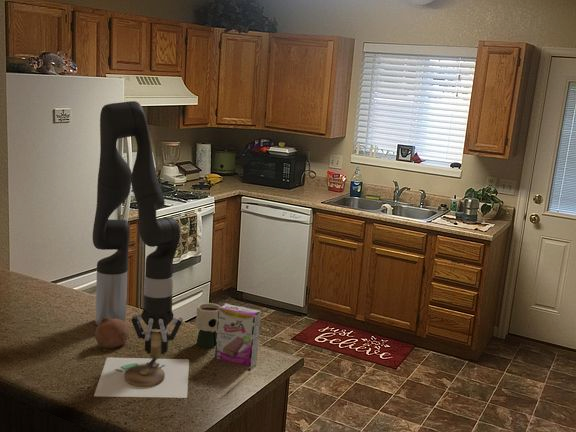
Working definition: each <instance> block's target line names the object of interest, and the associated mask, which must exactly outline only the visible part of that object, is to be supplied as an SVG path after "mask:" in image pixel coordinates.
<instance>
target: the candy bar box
mask: <svg viewBox="0 0 576 432" xmlns="http://www.w3.org/2000/svg"><path fill="white" fill-rule="evenodd" d="M220 306H221V307H219V308H218V322H217V330H216V332H217V336H216V346H215V353H214V358H215V359H217V360H221V361H225V362H230V363H234V364H239V365H243V366H248V368H247V371H252V370H253V368H254V367H256V365H257V363H258V362H257V361H258V352H259V351H258V350H259V339H260V328H261V327H260V326H261V315H262V311H261V310H258V309H255V308H254V309H253V308H249V307H245V306H244V307H243V306H241V305H235V304H232V303H224V304H222V305H220Z"/></svg>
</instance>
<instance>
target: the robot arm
mask: <svg viewBox="0 0 576 432" xmlns="http://www.w3.org/2000/svg"><path fill="white" fill-rule="evenodd" d="M149 131H150V130H149V126H148V121H147V116H146V113H145V110H144V109H143V106H142V105H141V103H140V102H138V101H135V100H134V101H131V100H130V101H123V102H114V103H113V102H112V103H107V104H104V105H103V106H102V108H101V110H100V116H99V135H100V137H99V139H100V143H99V144H100V151H99V152H100V153H99V164H98V165H99V167H98V174H97V175H98V176H97V187H96V189H97V192H96V209H95V215H94V221H93V226H92V227H93V229H92V243H93V246H94V248H95V249H97V250H103V251H104V250H105V251H106V250H107V251H108V250H111V251H113V250H116V251H115V252H114V253H113V254H111V255H109V256H107V257H103V258H101V259H100V260H98V261H97V264H96V286H95V287H96V288H95V289H96V290H95V317H94V318H95V321H94V323H95V325H96V326H98V325H99V324H100V323H101V322H102V320H103V318H111V319H121V320H123V321H124V322H125V323H126V321H127V320H126V319H127V318H126V317H127V299H128V298H127V296H128V295H127V292H128V267H129V248H130V236H131V227H130V223H129V221H128V220H126V219H109V218H110V217H111V215H112V214H113V212H115V211H116V210H117V209H118V208H119V207H120V206H121V205H122V204H123V203H124V202H125V201H126V200H127V199H128V197H129V195H130V193H131V188H132V191H133V196H134V198H135V201H136V204H137V211H138V212H137V215H138V233H139V236H140V237H139V238H140V240H141V241H142V242H143V244H145V245H146V246H147V247H149V248H150V247H151V248H152V247H153V248H154V247H156V249H155V250H154V251H153V252H151V253H148V255H147V256H146V258H145V271H144V272H145V273H144V282H143V305H142V307H143V309H142V312H141V313H140V314H138V315H137V314H135V315H133V316H132V318H131V323H132V325H133V328H134V331H135V333H136V335H137V338H138V339H143V340H144V351H145V352H146V354H147V355H150V345H151V331H153V330H160V331H161V334H162V339H163V341H162V356H163V355H164V356H165V355H166V353H167V352H168V350H169V341H173V340H174V339H175V338H176V335H177V333H178V331H179V329H180V327H181V325H182V323H183V321H184V319H183V318H182V317H177V316H174V313H173V295H174V294H173V292H174V291H173V290H174V281H173V267H174V266H173V265H174V264H173V263H174V258H175V256H176V253H177V249H178V245H179V243H180V238H181V228H180V224H179V223H178V221H177V220H176V219H175V218H173V217H170V216H166V217H157V211H158V210H160V209H162V208H163V207H164V206H165V204H166V203H165V202H166V201H165V198H164V197H165V196H164V194H163V190H162V187H161V184H160V181H159V179H158V175H157V171H156V168H155V167H156V166H155V162H154V161H155V160H154V155H153V149H152V148H153V147H152V142H151V137H150V132H149ZM130 137H134V138H135V142H136V157H135V160H134V164H133V168H132V170H131V168H130V166H129V164H128V163H127V161H126V160H125V159H124V157H123V156H122V154H120V152H119V151H118V149H117V142H118V140H119V139H123V138H130ZM142 320H143V322H144V324H145V325H146V326H147V327H146V331H145V332H144V328H143V326H142ZM171 322H173V323H172V325H173V326H174V327H173V329H172V331H171V333H169V329H168V328H169V327H168V326H169V324H170V323H171ZM126 324H127V323H126Z"/></svg>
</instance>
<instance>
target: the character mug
mask: <svg viewBox="0 0 576 432" xmlns="http://www.w3.org/2000/svg"><path fill="white" fill-rule="evenodd" d="M221 306H222V305H219V304H217V303H213V302H212V303H209V302H205V303H200V304H198V305H197V307H196V318H195V325H194V326H195V328H196V329H198V330H199V331H198V334H197V339H196V346H197V347H199V348H201V349H215V348H216V336H217V322H218V308H219V307H221Z"/></svg>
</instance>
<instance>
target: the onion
mask: <svg viewBox="0 0 576 432" xmlns="http://www.w3.org/2000/svg"><path fill="white" fill-rule="evenodd" d="M96 326H97V325H96ZM129 337H130V328H129V326H128V324H127V323H125V322H124V321H123V320H121V319H111V318H103V320H102V322H101V323H100V324H99V325H98V326H97V327H96V328H95V333H94V338H95V340H96V343H97V345H98V346H100V347H101V348H102V349H106V348H109V349H113V348H119V347H120V348H121V347H122V346H124V345H125V343H127V341H128V340H129Z"/></svg>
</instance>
